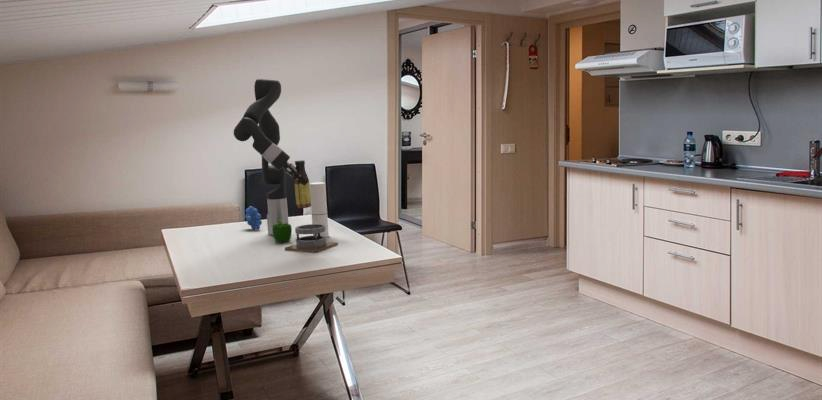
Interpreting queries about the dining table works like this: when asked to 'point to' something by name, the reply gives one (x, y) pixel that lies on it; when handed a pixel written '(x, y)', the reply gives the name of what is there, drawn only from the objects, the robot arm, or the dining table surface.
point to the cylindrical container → (319, 205)
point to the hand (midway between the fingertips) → (306, 182)
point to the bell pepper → (282, 232)
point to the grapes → (253, 217)
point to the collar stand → (310, 239)
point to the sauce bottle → (302, 187)
